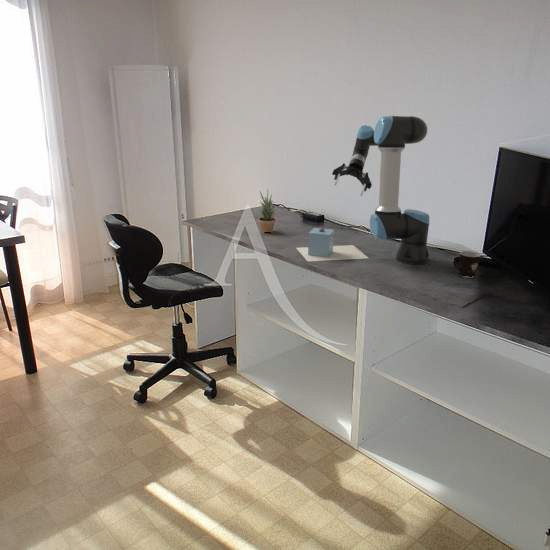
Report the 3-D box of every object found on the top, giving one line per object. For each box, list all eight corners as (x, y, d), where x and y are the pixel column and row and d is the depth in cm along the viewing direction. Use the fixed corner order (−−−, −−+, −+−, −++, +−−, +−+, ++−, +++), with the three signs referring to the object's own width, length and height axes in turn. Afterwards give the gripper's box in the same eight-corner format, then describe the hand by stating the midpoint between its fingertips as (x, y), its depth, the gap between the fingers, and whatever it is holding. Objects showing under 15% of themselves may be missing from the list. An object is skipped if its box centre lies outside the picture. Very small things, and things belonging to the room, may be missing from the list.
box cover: (332, 251, 255) (334, 227, 251) (328, 257, 246) (329, 232, 242) (313, 249, 258) (314, 225, 253) (307, 255, 249) (308, 230, 244)
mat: (368, 259, 246) (368, 258, 245) (307, 262, 240) (307, 261, 239) (352, 245, 266) (352, 245, 266) (295, 248, 260) (295, 247, 260)
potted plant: (255, 232, 288) (255, 187, 279) (263, 228, 296) (263, 185, 287) (271, 234, 283) (271, 189, 275) (279, 231, 291) (279, 187, 283)
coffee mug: (474, 273, 229) (478, 251, 225) (479, 279, 221) (483, 257, 217) (447, 271, 230) (450, 250, 226) (451, 278, 222) (454, 256, 218)
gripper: (376, 179, 269) (370, 203, 255) (331, 161, 270) (322, 184, 255) (382, 167, 264) (375, 192, 249) (336, 149, 264) (327, 173, 250)
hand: (348, 188), depth 252 cm, fingers open, 13 cm apart
